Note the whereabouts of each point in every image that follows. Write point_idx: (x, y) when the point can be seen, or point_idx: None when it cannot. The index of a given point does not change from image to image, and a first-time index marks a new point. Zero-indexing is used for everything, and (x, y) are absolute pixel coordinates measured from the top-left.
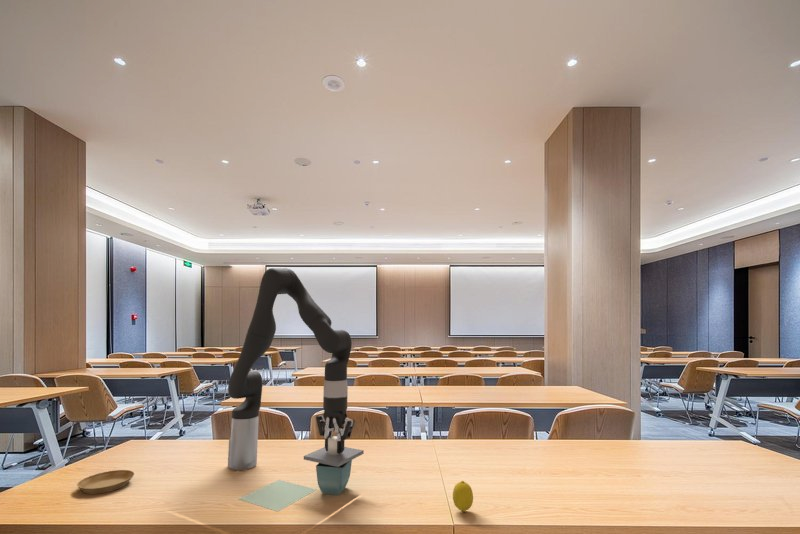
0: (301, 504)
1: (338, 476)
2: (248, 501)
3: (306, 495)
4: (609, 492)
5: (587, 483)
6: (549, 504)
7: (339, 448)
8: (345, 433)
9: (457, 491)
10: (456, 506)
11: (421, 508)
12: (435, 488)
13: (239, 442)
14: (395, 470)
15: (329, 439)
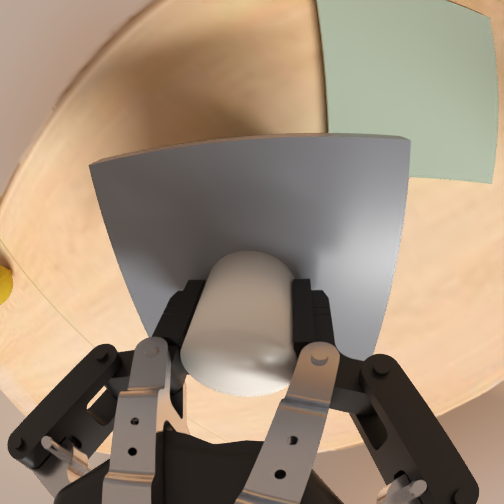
0: (298, 62)
1: None
2: (455, 6)
3: (327, 113)
4: (11, 365)
5: (30, 379)
6: (2, 329)
7: (181, 303)
8: (74, 381)
9: None
10: (1, 266)
11: (40, 248)
12: (91, 332)
13: None
14: None
15: (247, 332)
